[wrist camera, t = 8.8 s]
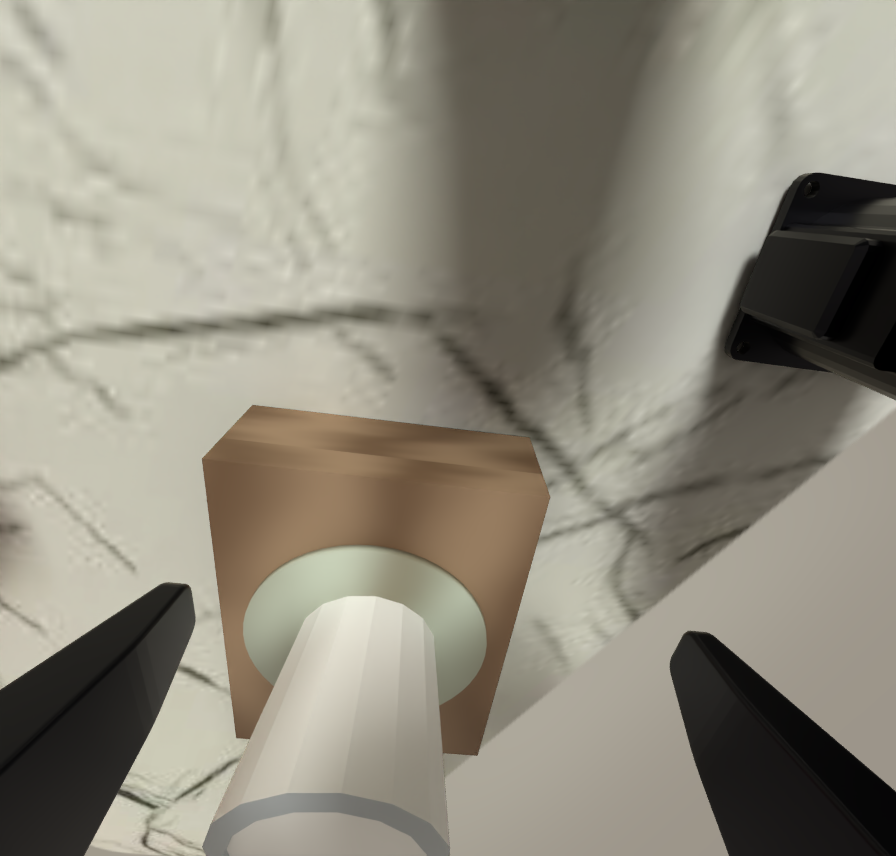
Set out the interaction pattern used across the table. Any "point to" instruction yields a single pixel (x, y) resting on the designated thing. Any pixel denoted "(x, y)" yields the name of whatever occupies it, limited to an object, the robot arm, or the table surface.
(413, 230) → the table surface
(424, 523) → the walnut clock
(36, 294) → the table surface
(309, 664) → the white cup
